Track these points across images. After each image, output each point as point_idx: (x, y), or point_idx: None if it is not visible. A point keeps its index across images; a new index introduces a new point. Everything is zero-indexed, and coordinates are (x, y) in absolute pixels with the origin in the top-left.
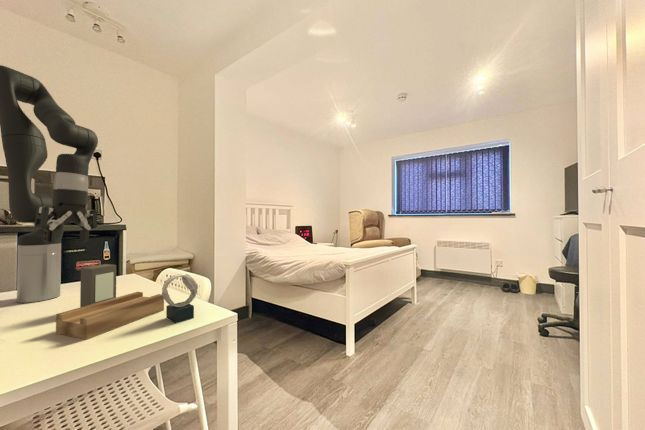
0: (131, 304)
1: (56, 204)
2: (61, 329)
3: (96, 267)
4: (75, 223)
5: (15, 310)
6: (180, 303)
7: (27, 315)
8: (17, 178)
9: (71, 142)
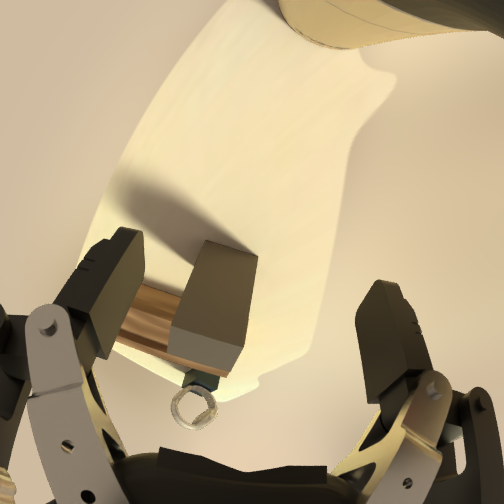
0: (171, 359)
1: None
2: None
3: (185, 353)
4: (403, 441)
5: (208, 51)
6: (202, 389)
7: (173, 133)
8: None
9: None
